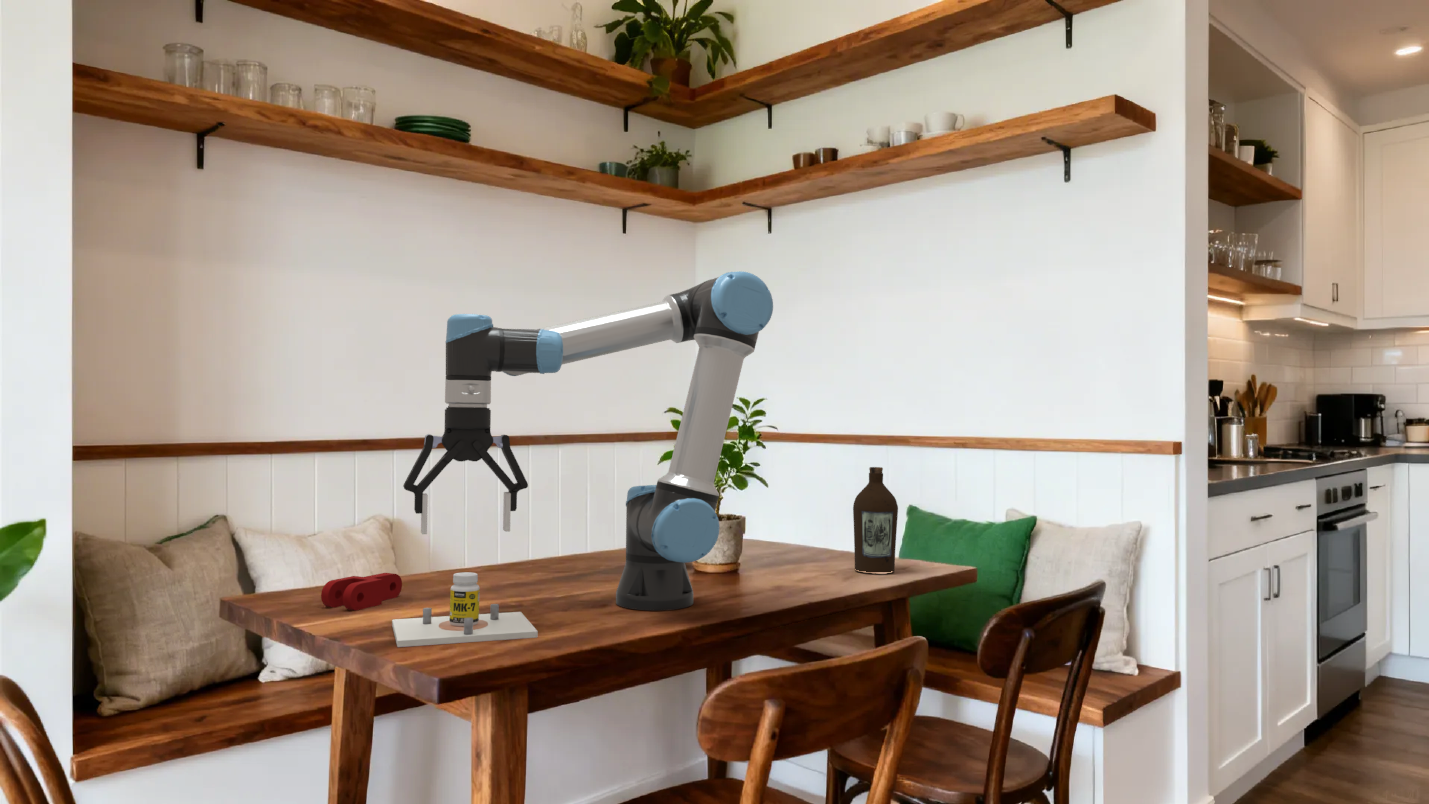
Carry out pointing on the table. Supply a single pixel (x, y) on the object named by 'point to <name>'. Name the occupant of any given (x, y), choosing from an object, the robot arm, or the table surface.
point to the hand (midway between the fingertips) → (465, 532)
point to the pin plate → (462, 628)
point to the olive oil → (875, 525)
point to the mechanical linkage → (361, 591)
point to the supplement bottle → (464, 598)
